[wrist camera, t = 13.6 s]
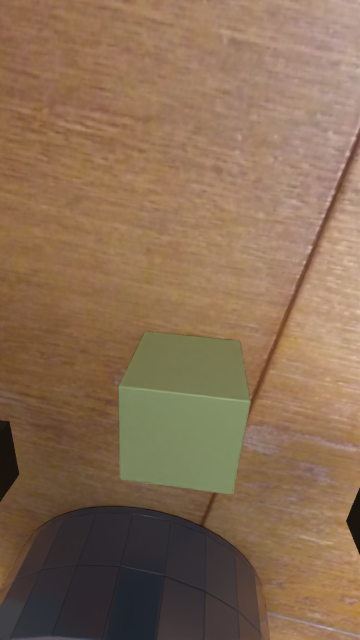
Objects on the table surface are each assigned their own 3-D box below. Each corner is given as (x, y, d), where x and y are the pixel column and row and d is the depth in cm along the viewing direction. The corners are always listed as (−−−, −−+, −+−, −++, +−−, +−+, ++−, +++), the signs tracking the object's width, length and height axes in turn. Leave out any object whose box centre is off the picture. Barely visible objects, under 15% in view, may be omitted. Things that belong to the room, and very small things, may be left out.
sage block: (143, 406, 18) (119, 480, 13) (144, 330, 16) (117, 386, 12) (228, 417, 18) (233, 495, 13) (240, 340, 16) (251, 401, 11)
